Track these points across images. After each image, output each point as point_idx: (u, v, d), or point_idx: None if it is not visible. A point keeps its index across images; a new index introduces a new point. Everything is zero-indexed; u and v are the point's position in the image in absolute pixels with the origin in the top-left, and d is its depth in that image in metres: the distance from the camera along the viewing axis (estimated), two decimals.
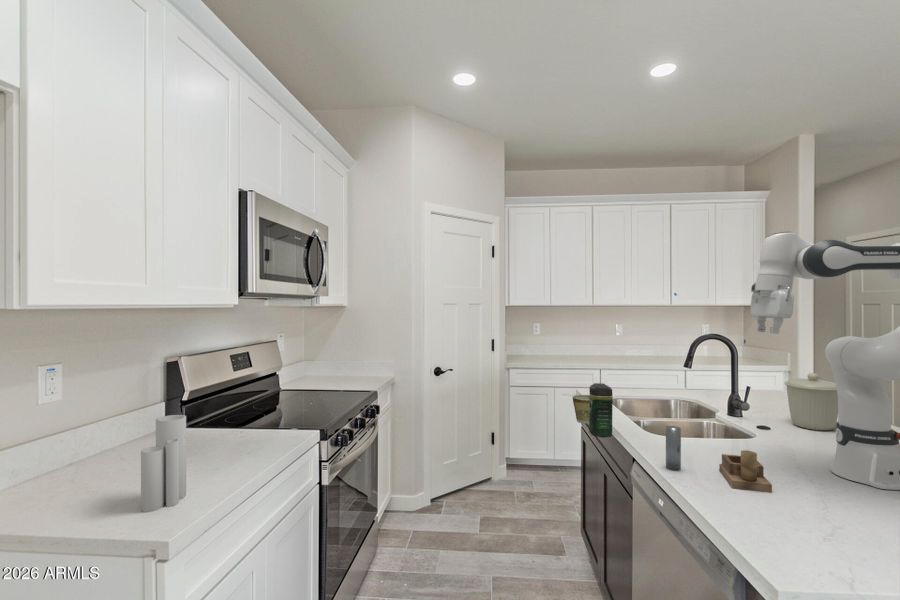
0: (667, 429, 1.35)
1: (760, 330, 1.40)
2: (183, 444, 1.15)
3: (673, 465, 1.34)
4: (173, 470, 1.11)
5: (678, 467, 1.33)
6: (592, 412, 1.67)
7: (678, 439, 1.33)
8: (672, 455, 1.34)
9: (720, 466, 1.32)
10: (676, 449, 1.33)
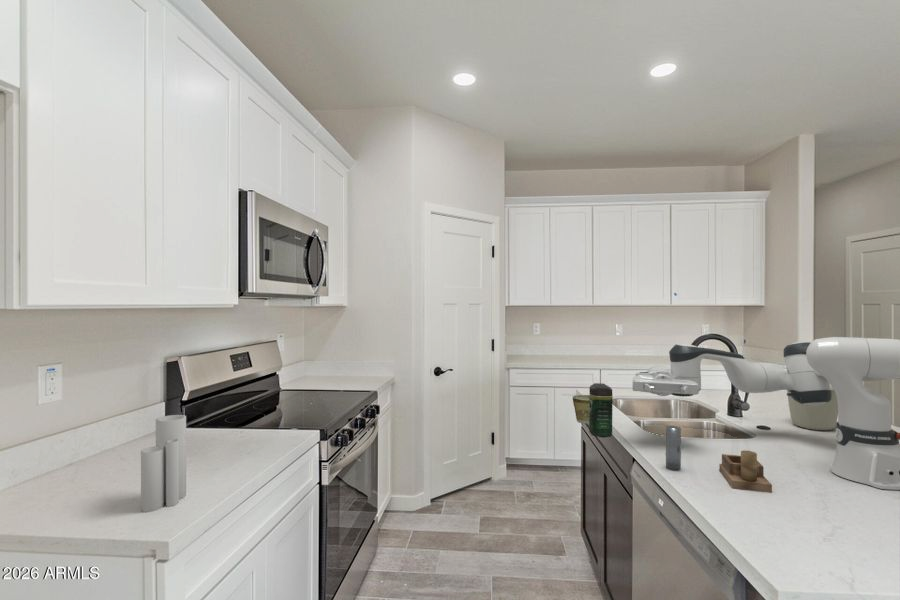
0: (667, 429, 1.35)
1: (653, 388, 1.50)
2: (183, 444, 1.15)
3: (673, 465, 1.34)
4: (173, 470, 1.11)
5: (678, 467, 1.33)
6: (592, 412, 1.67)
7: (678, 439, 1.33)
8: (672, 455, 1.34)
9: (720, 466, 1.32)
10: (676, 449, 1.33)
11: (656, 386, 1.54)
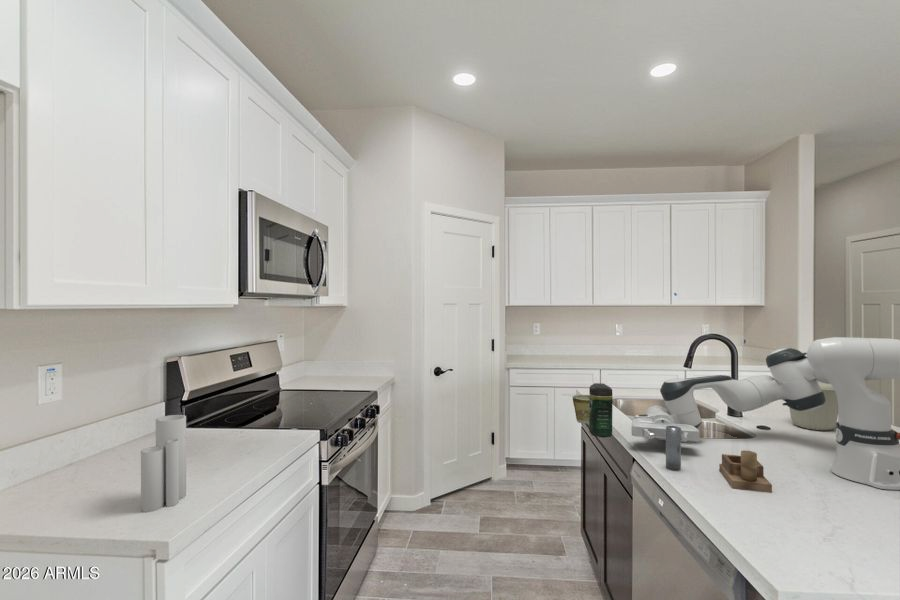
0: (667, 429, 1.35)
1: None
2: (183, 444, 1.15)
3: (673, 465, 1.34)
4: (173, 470, 1.11)
5: (678, 467, 1.33)
6: (592, 412, 1.67)
7: (678, 439, 1.33)
8: (672, 455, 1.34)
9: (720, 466, 1.32)
10: (676, 449, 1.33)
11: (655, 431, 1.50)
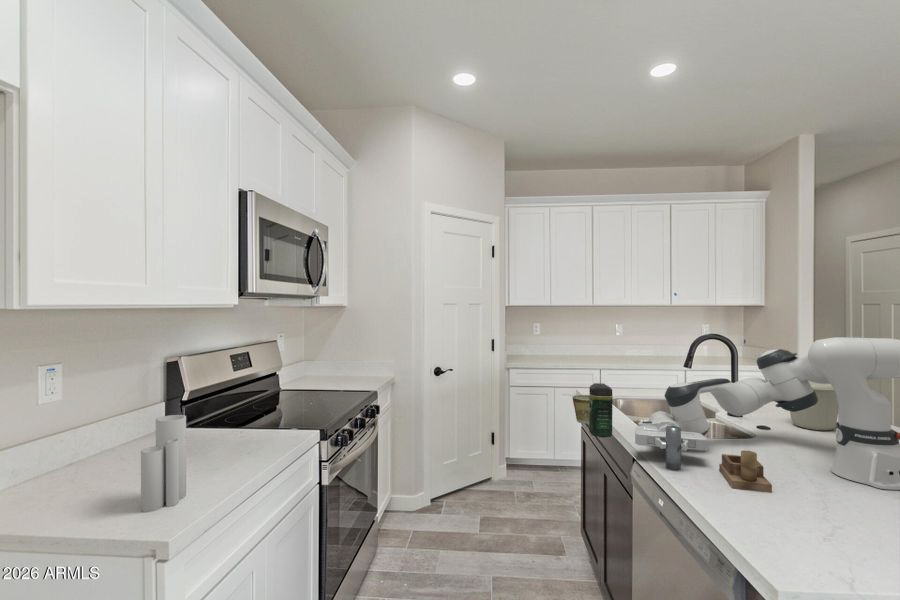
0: (667, 429, 1.35)
1: None
2: (183, 444, 1.15)
3: (673, 464, 1.34)
4: (173, 470, 1.11)
5: (678, 467, 1.34)
6: (592, 412, 1.67)
7: (678, 439, 1.34)
8: (672, 455, 1.34)
9: (720, 466, 1.32)
10: (676, 449, 1.33)
11: (660, 440, 1.41)
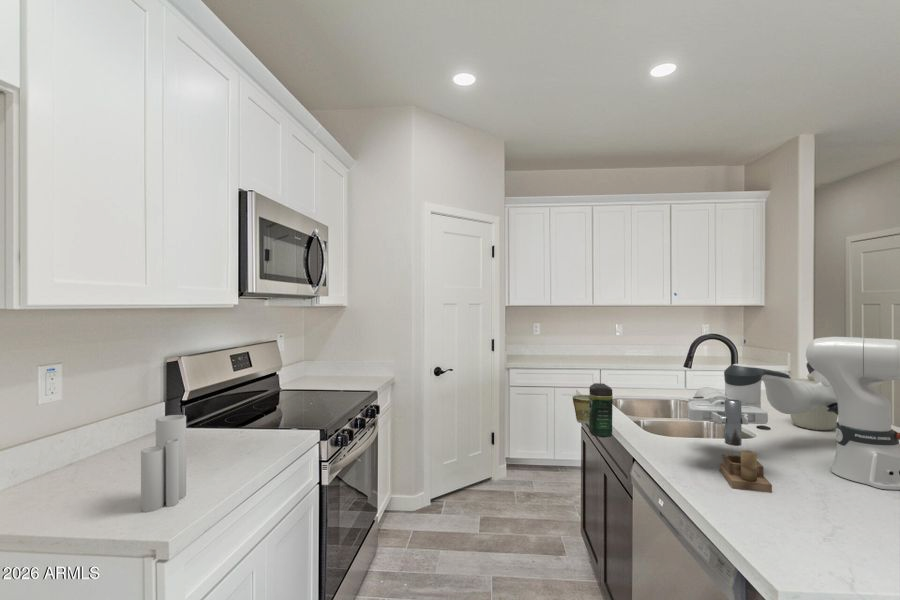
0: (727, 402, 1.28)
1: None
2: (183, 444, 1.15)
3: (734, 439, 1.27)
4: (173, 470, 1.11)
5: (739, 442, 1.27)
6: (592, 412, 1.67)
7: (739, 413, 1.27)
8: (733, 429, 1.27)
9: (720, 466, 1.32)
10: (737, 423, 1.26)
11: None
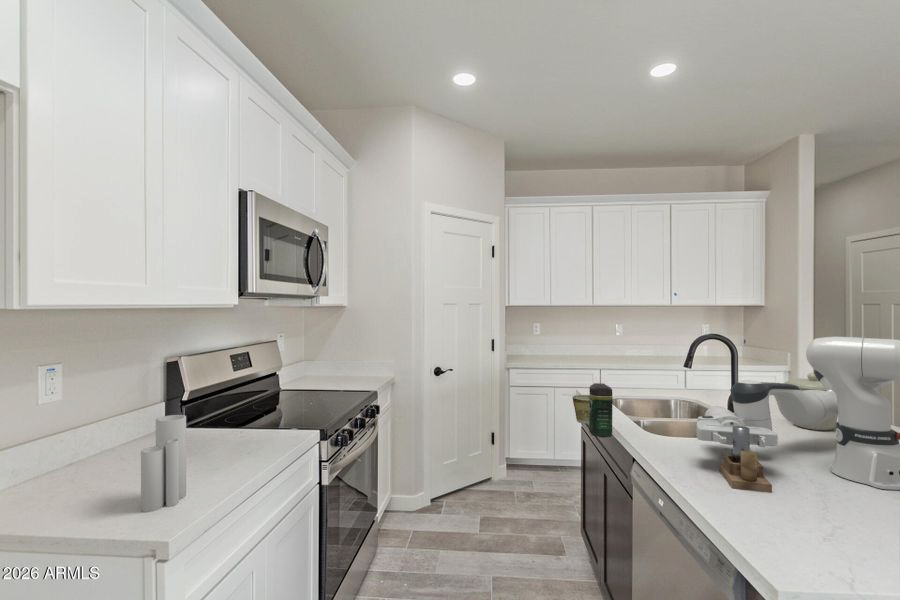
0: (735, 429, 1.28)
1: None
2: (183, 444, 1.15)
3: None
4: (173, 470, 1.11)
5: None
6: (592, 412, 1.67)
7: (747, 440, 1.26)
8: None
9: (720, 466, 1.32)
10: (745, 450, 1.26)
11: (726, 435, 1.33)
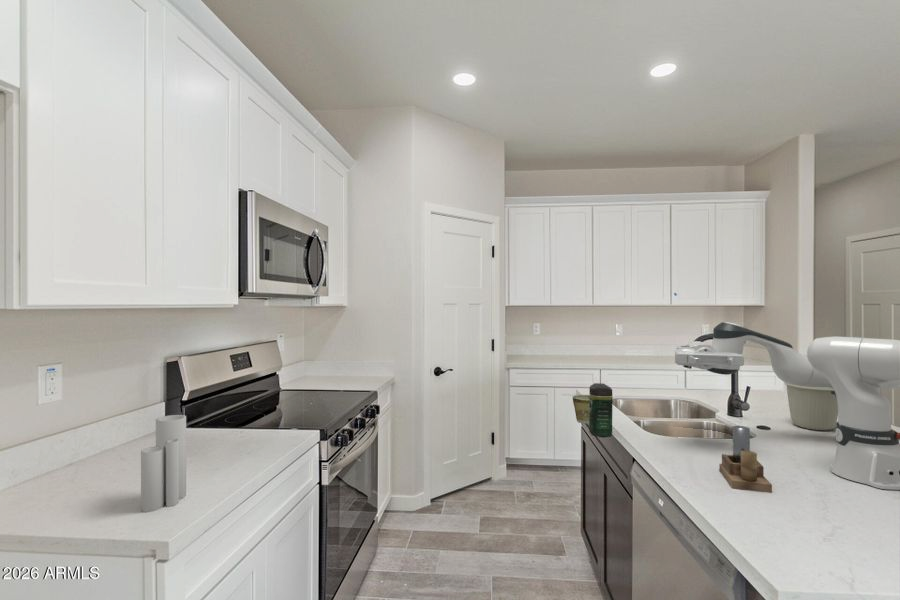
0: (735, 429, 1.28)
1: None
2: (183, 444, 1.15)
3: None
4: (173, 470, 1.11)
5: None
6: (592, 412, 1.67)
7: (747, 440, 1.26)
8: None
9: (720, 466, 1.32)
10: (745, 450, 1.26)
11: (699, 358, 1.52)
